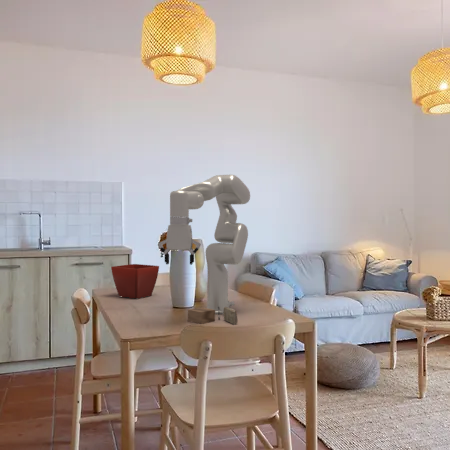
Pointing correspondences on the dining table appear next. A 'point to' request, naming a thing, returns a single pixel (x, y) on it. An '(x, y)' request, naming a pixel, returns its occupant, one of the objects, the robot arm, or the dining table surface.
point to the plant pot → (135, 279)
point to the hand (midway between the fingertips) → (179, 264)
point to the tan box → (201, 315)
